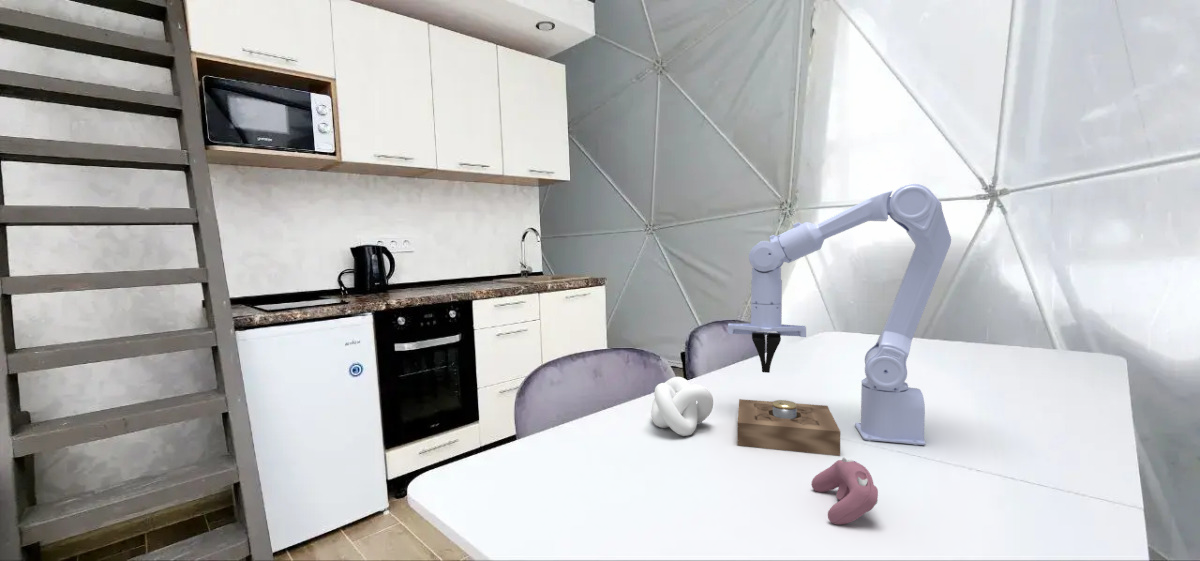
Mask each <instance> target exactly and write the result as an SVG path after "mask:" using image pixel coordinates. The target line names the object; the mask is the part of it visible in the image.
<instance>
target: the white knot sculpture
mask: <svg viewBox="0 0 1200 561" xmlns="http://www.w3.org/2000/svg"><path fill="white" fill-rule="evenodd" d="M713 406H714V397H713V395H712V393H711V391H710V390H709V388H707V387H706V386H704V385H700V384H698V383H697V384H696V383H694V384H691V382H690V381H689V380H687V379H686V378H684V377H682V376H673V377H670V378H669V379H668V380H666V381H665V382H661V383H658V384H657V385H656V386H655V388H654V398H653V402H652V406H651V411H650V416H651V420H652V422H653V423H654V425H655V426H656V427H658V428H660V429H666V428H670V429H671V430H672V431H673V432H674V433H676V434H677V435H680V436H682V437H687V436H690V435H691V436H692V434H694V432H695V430H696V429H697V426H698V424H700V423H702V422H704V421H706V419H707V418H709V416H710V415H711V413H712V411H713V409H714V408H713Z"/></svg>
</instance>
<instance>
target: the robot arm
mask: <svg viewBox="0 0 1200 561" xmlns="http://www.w3.org/2000/svg"><path fill="white" fill-rule="evenodd" d="M942 206H943V205H942V202H941V201H940V199H938V197H937V196H936V195H935V194H934V193H933V191H932V190H931V189H929V188H928V187H927V186H925V185H924V184H923V185H922V184H919V183H909V184H905V185H902V186H901V187H899V188H898V189H896V190H895V191H894V192H893V190H889V191H885V192H882V193H880V194H877V195H875V196H873V197H872V196H871V197H870V198H867V199H865V200H863V201H861V202H859V203H857V204H855V205H853V206H851V207H849V208H847V209H845V210H843V211H842V212H840V213H838V214H836V215H834V216H831V217H829V218H828V219H826V220H823V221H822V222H819V223H812V222H809V221H805V222H803V223H801V222H800V221H798V222H796V223H793V224H792V226H793V228H790V229H789V230H786V231H785V232H782V233H780V234H778V235H775V234H772V235H770V236H769V237H768V238H769V240H761V241H759V242H757V244H755V245H754V246H752V248H751V249H750V251H749V253H748V261H749V263H750V265H751V280H750V284H751V286H750V287H751V288H750V291H751V292H750V294H751V295H750V297H751V298H750V323H744V322H743V323H727V335H751V340H752V342H753V344H754V346H755V348H756V351H757V354H758V356H759V357H758V358H759V360H760V364H761V372H762V373H766V374H767V373H771V372H770V371H771V366H772V361H773V358H774V356H775V354H776V350H777V349H778V347H779V345H780V343H781V340H782V337H781V336H783V337H785V336H786V337H799V338H800V337H801V338H807V326H806V325H794V324H782V323H783V322H782V314H783V313H782V308H783V307H782V306H783V302H782V300H783V299H782V298H783V296H782V294H783V293H782V292H783V291H782V290H783V287H782V286H783V285H782V284H783V280H782V266H783V265H784V263H787V264H790V263H793V262H794V261H797V260H799V259H801V258H803V257H806V256H809V255H810V254H813V253H815V252H816V251H819V250H821V248H822V246H823V244H824V241H825V240H826V239H829V238H831V237H833V236H836V235H838V234H840V233H843V232H846V231H847V230H850V229H853V228H855V227H857V226H860V225H862V224H865V223H867V222H887V221H888V219H889V218H890V219H891V220H892V221H893V222H895V223H896V224H897V225H898V226H900V227H901V228H903V229H904V230H905V231H906V234H908V236H909V238H910V239H911V241H912V242H913V243H914V245H915V246H914V249H913V252H912V254H911V256H910V259H909V262H908V264H907V267H906V270H905V273H904V275H903V277H902V280H901V282H900V285H899V287H898V290H897V293H896V295H895V298H894V300H893V303H892V305H891V309H890V311H889V313H888V316H887V318H886V322H885V324H884V326H883V329H882V330H881V332H880V334H879V335H878V339H877V341H876V343H875V344H874V345H873V346H872V347H871V348H870V349H868V351H867V352H866V354H865V355H864V363H865V364H864V373H865V378H863V379H861V392H860V394H861V397H860V398H861V399H860V400H861V401H860V403H861V404H860V422H854V426H855V428H856V429H857V431H858V433H859V435H860V436H861V438H862V439H863V440H865V441H875V442H885V443H896V444H910V445H920V446H925V445H926V441H925V422H926V421H925V417H926V410H925V408H926V406H925V399H924V395H923V392H922V390H921V389H920V388H917V387H909V384H908V383H907V382H905V381H907V377H908V369H907V360H908V357H909V355H910V351H911V350H910V349H911V346H912V341H913V338H914V336H915V333H916V331H917V328H918V325H919V323H920V321H921V318H922V316H923V314H924V311H925V309H926V307H927V304H928V302H929V298H930V296H931V293H932V291H933V288H934V286H935V283H936V281H937V279H938V276H939V274H940V271H941V269H942V267H943V264H944V262H945V259H946V256H947V253H948V252H949V250H950V246H951V242H952V236H951V234H950V233H951V232H950V231H949V228H948V224H947V222H946V221H947V220H946V218H945V215H944V214H945V213H944V210H943V207H942Z"/></svg>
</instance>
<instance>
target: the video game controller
mask: <svg viewBox="0 0 1200 561" xmlns="http://www.w3.org/2000/svg"><path fill="white" fill-rule="evenodd" d="M811 487H812V489H813V490H814V491H815V492H818V493H826V492H829V491H832V490H833V491H834V489H837V488H838V489H837V491H836V498H837V500H839V501H837V502H836V503H835V504H833V505H831V507H830V508H829V510H828V511H827V519H828V521H829V522H830V523H831V524H833V525H839V526H840V525H846V524H849V523H852V522H854V521H856V520H859V519H860V518H861V517H862V516H864V514H866V513H868V512H870V511H871V510H873V508H874V507H875V506H876V505H877V504H878V501H879V500H878V496H879V489H878V488H877V486H876V485H875V483H874V480H873V477H872V475H871V473H870V472H869V469H867V468H866V467H865V466H864V465H863V464H861V463H859V462H857V461H855V460H853V459H847V458H845V457H842V458H841V459H838V460H836V461H835V462H834V463H833V464H831V465H830V466H829V467H827V468H826V469H824V470H822V471H820V472H819V473H818V474H816V475H815V476H814V477H813V478H812V481H811Z"/></svg>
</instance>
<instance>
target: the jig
mask: <svg viewBox="0 0 1200 561" xmlns="http://www.w3.org/2000/svg"><path fill="white" fill-rule="evenodd" d="M795 403H796V402H795ZM796 404H797V417H796V418H795V419H785V418H778V417H775V416H773V401H766V400H755V399H741V398H739V399H738V408H737V409H738V411H737V436H736V437H737V438H736V439H737V440H736V446H739V447H749V448H759V449H770V450H776V451H790V452H799V453H808V454H819V455H827V456H838V457H840V456H841V430H840V428H839V426H838V424H837V421H836V420H835V418H834V416H833V414H832V412H831V410H830V408H829V405H823V404H810V403H808V404H807V403H796Z"/></svg>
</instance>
